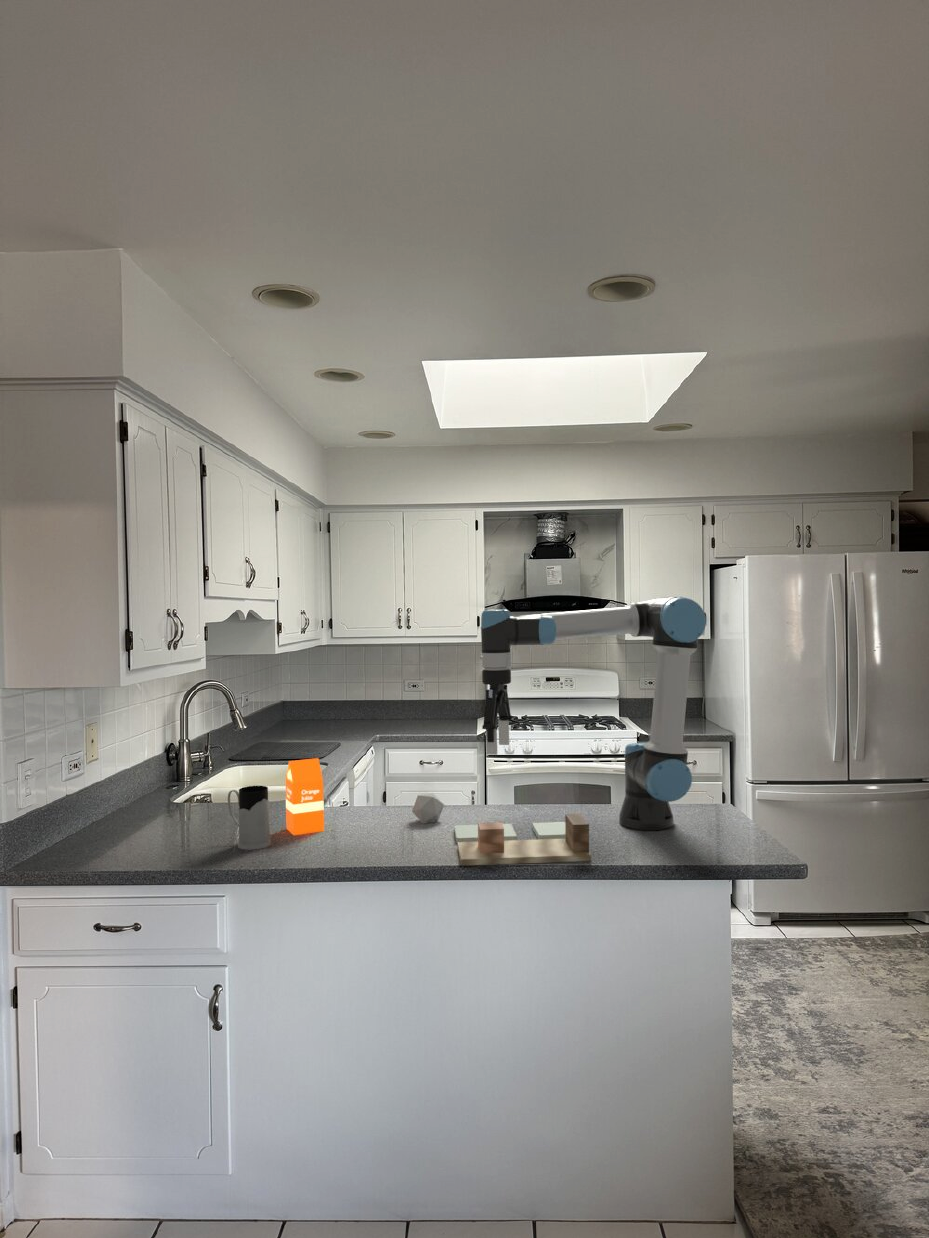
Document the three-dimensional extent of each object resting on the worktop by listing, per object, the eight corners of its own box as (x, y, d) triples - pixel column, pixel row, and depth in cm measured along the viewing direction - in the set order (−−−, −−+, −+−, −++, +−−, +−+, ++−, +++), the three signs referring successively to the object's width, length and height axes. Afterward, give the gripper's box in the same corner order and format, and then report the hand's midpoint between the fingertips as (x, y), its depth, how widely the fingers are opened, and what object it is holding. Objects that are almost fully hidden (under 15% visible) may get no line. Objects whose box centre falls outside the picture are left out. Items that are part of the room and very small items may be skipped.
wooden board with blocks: (579, 843, 215) (578, 811, 215) (591, 860, 201) (590, 826, 201) (457, 847, 213) (457, 815, 212) (461, 865, 199) (460, 830, 199)
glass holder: (253, 851, 212) (252, 794, 212) (216, 843, 220) (215, 787, 220) (278, 842, 220) (277, 787, 219) (241, 835, 227) (240, 781, 227)
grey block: (434, 817, 245) (415, 792, 245) (453, 807, 240) (433, 782, 240) (422, 834, 238) (401, 808, 238) (441, 823, 234) (420, 797, 233)
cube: (501, 845, 209) (501, 822, 209) (504, 852, 203) (503, 828, 203) (478, 846, 209) (477, 822, 209) (480, 853, 203) (479, 829, 203)
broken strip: (567, 826, 231) (567, 821, 231) (576, 839, 219) (575, 833, 219) (454, 830, 229) (454, 825, 229) (456, 843, 217) (456, 838, 217)
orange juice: (286, 828, 233) (284, 758, 233) (316, 824, 237) (314, 755, 237) (293, 835, 226) (292, 763, 226) (324, 830, 230) (323, 760, 230)
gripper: (493, 664, 227) (495, 740, 227) (469, 673, 203) (471, 758, 203) (520, 664, 225) (522, 741, 225) (499, 673, 201) (501, 759, 201)
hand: (498, 749), depth 214 cm, fingers open, 13 cm apart
